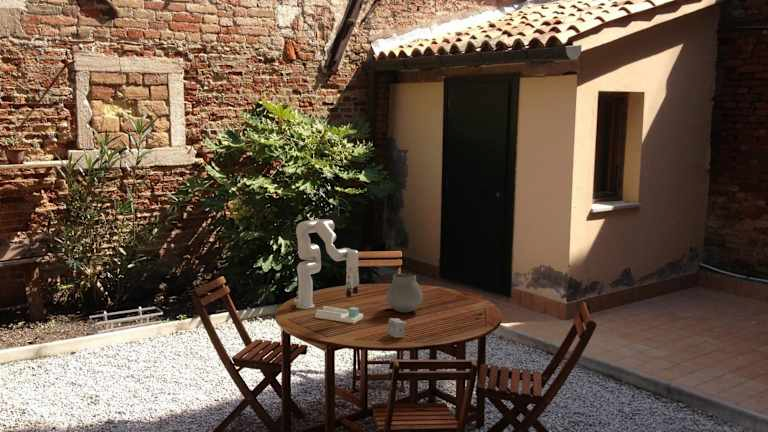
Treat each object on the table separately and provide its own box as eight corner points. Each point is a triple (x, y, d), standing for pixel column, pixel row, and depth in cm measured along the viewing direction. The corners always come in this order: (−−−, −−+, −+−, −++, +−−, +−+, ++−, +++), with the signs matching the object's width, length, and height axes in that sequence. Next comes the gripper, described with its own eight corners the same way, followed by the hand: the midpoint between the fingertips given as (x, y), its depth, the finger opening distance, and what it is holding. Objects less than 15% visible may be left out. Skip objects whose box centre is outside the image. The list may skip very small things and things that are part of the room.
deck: (315, 317, 461) (315, 310, 460) (325, 311, 473) (325, 305, 473) (353, 323, 450) (353, 316, 449) (363, 317, 462) (363, 310, 462)
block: (348, 316, 456) (348, 308, 455) (351, 314, 460) (351, 306, 460) (355, 317, 454) (355, 309, 453) (358, 315, 459) (358, 307, 458)
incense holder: (406, 337, 424) (407, 321, 423) (394, 339, 420) (395, 322, 419) (398, 333, 433) (398, 316, 431) (386, 334, 429) (386, 318, 427)
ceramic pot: (427, 308, 486) (428, 273, 482) (413, 318, 464) (414, 281, 460) (394, 304, 496) (395, 269, 492) (380, 312, 474) (380, 276, 470)
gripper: (351, 272, 443) (351, 299, 446) (363, 267, 459) (363, 292, 462) (340, 271, 446) (340, 297, 449) (352, 266, 462) (352, 291, 465)
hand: (352, 295), depth 455 cm, fingers open, 9 cm apart
